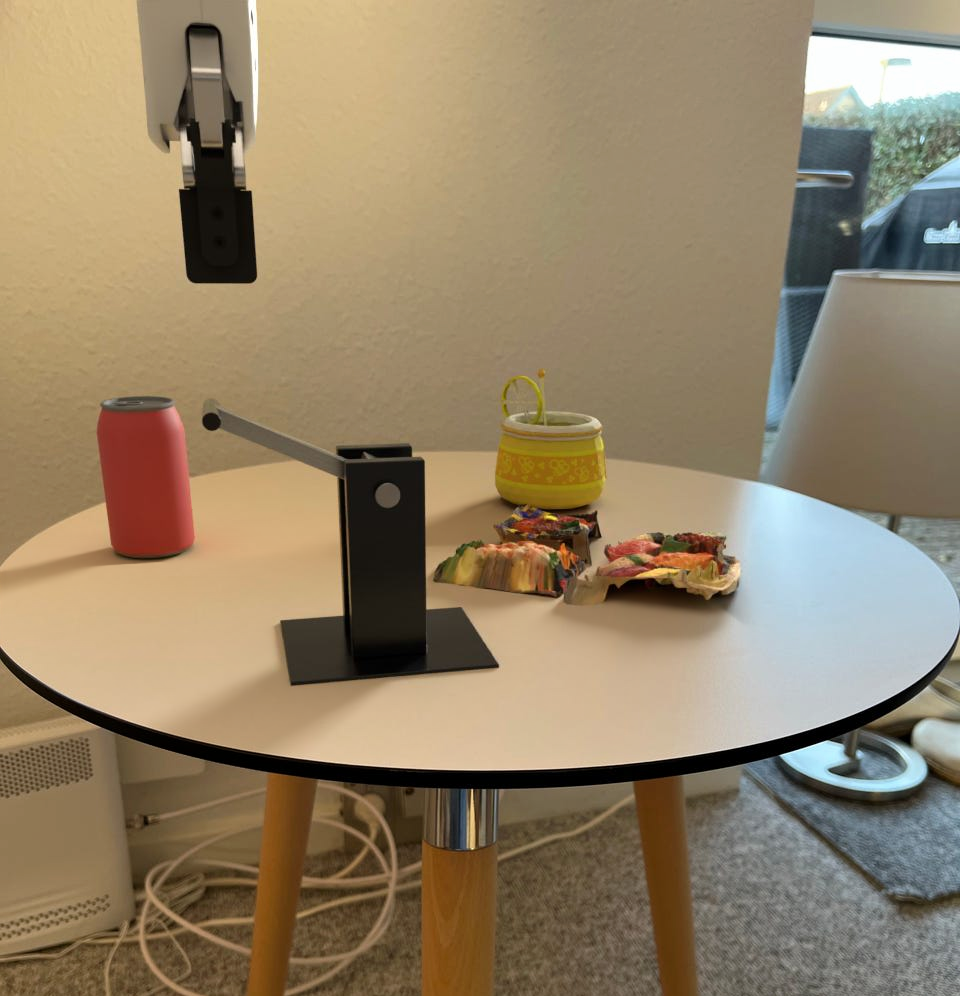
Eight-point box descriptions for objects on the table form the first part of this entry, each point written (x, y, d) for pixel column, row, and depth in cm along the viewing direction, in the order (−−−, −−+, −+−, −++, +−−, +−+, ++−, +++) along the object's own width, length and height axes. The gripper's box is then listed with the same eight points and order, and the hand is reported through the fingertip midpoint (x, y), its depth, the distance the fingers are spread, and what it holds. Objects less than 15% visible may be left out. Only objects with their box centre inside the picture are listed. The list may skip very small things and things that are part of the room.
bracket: (291, 701, 57) (277, 476, 52) (281, 637, 66) (267, 439, 61) (499, 682, 60) (503, 466, 55) (461, 623, 69) (462, 432, 64)
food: (756, 561, 82) (761, 519, 81) (722, 642, 66) (727, 590, 64) (500, 532, 89) (501, 492, 88) (412, 598, 73) (411, 551, 72)
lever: (194, 439, 53) (210, 396, 52) (195, 423, 57) (211, 383, 57) (400, 522, 57) (417, 483, 57) (387, 500, 62) (402, 464, 61)
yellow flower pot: (618, 513, 96) (627, 383, 91) (504, 516, 94) (507, 384, 90) (585, 482, 108) (591, 366, 103) (483, 485, 106) (484, 367, 102)
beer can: (126, 537, 87) (109, 394, 82) (204, 538, 87) (190, 395, 82) (100, 560, 81) (80, 407, 76) (184, 561, 81) (168, 408, 76)
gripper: (119, -80, 53) (155, 271, 59) (78, -210, 37) (132, 287, 43) (267, -69, 54) (286, 272, 61) (287, -189, 39) (310, 287, 45)
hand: (222, 278), depth 52 cm, fingers open, 9 cm apart
